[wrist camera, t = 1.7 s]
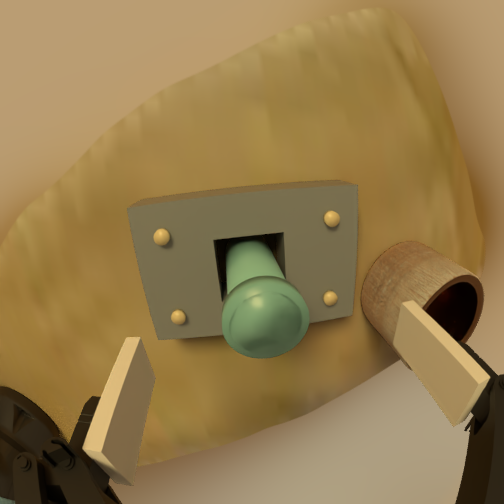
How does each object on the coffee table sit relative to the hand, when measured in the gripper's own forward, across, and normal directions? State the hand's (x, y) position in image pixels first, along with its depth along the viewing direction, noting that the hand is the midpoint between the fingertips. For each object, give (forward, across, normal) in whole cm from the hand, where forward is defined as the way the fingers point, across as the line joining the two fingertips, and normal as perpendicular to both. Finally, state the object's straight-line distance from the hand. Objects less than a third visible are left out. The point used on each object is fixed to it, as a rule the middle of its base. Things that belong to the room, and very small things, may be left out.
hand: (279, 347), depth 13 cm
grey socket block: (+14, 0, 0) cm, 14 cm away
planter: (+15, +16, -6) cm, 23 cm away
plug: (+14, 0, 0) cm, 14 cm away
